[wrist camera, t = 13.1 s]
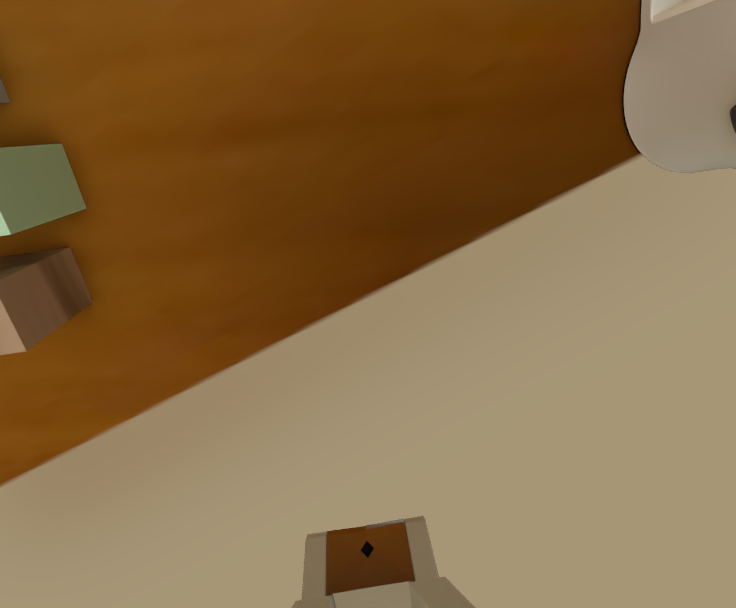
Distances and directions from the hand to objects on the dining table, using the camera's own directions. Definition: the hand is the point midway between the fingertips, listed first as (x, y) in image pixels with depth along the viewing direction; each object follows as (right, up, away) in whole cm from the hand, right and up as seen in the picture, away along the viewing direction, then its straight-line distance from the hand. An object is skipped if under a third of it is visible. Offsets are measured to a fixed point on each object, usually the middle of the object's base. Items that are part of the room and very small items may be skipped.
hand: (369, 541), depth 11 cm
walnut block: (-28, +8, +26) cm, 39 cm away
